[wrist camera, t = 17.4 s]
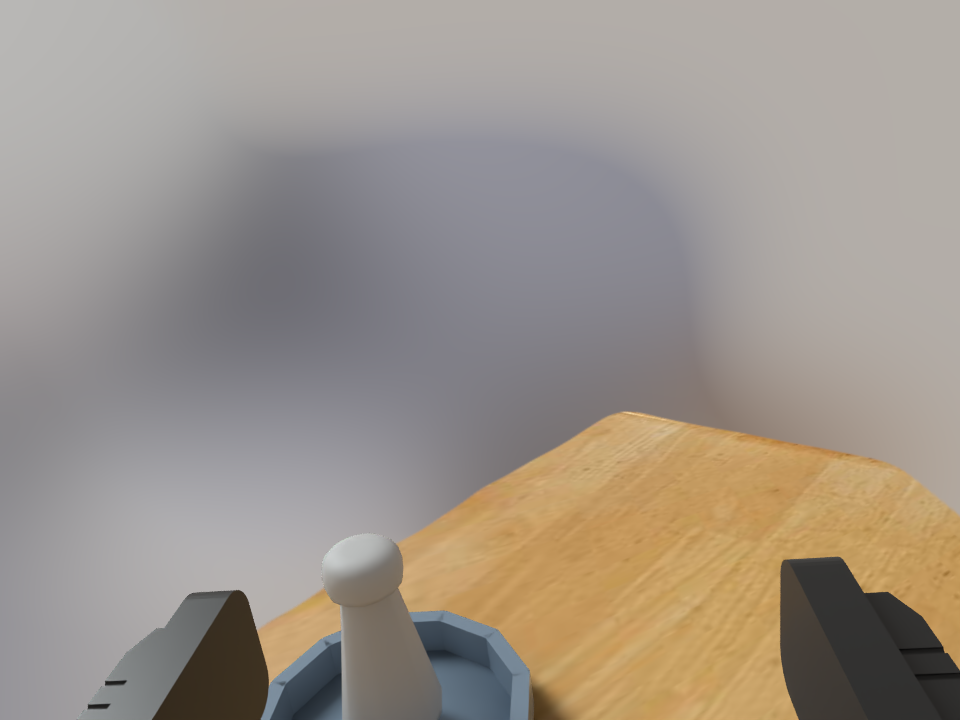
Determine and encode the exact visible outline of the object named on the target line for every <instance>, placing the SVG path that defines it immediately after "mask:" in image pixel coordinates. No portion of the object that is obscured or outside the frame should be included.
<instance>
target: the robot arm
mask: <svg viewBox="0 0 960 720" xmlns="http://www.w3.org/2000/svg"><path fill="white" fill-rule="evenodd" d="M780 648H781V660H782V667H783V673H784V677H785V682H786V686H787V689H788V692H789V695H790V698H791V701H792V703H793V706H794V708H795V711H796V713H797V716H798V718H799V720H960V670H959V669H958V667H957V666H956V664H955V663H954V662H953V660H952V659H951V657H950V656H949V654H948V653H945V652H944V649H943V646H942V644H941V643H940V641H939V640H938V639H937V637H936V636H935V634H934V633H933V631H932V630H931V629H930V627H929V626H928V624H927V623H926V621H925V620H924V619H923V617H922V616H921V615H919V614H918V613H916V612H915V611H914V610H912V609H911V608H909V607H908V606H907V605H905V604H904V603H903V602H901V601H900V600H898V599H897V598H896V597H894V596H893V595H892V594H890V593H889V592H878V593H864V592H863V591H862V589H861V588H860V586H859V584H858V583H857V581H856V579H855V578H854V576H853V575H852V573H851V571H850V570H849V568H848V566H847V565H846V563H845V562H844V560H843V559H842V558H840V557H825V558H807V559H790V560H784V561H783V562H782V565H781V601H780ZM268 689H269V677H268V670H267V665H266V662H265V658H264V655H263V651H262V648H261V644H260V641H259V637H258V634H257V630H256V627H255V623H254V619H253V616H252V612H251V609H250V605H249V602H248V599H247V597H246V595H245V594H244V593H243V592H242V591H240V590H236V591H235V590H234V591H217V592H199V593H192V594H190V595H188V596H187V597H186V598H185V600H184V601H183V602H182V604H181V605H180V607H179V608H178V610H177V611H176V612H175V614H174V615H173V616H172V618H171V619H170V621H169V622H168V624H167V625H166V627H165V628H159V629H155V630H154V631H153V632H152V633H150V634H149V635H148V636H147V637H146V638H144V639H143V640H142V641H140V642H139V643H138V644H137V645H136V646H134V647H133V648H132V649H131V650H129V651H128V652H127V653H126V654H125V655H124V657H123V658H122V659H121V661H120V662H119V663H118V665H117V666H116V667H115V669H114V670H113V671H112V673H111V674H110V675H109V677H108V678H107V679H106V681H105V686H104V687H101V688H100V689H99V690H98V692H97V693H96V694H95V696H94V697H93V698H92V700H91V701H90V702H89V704H88V709H87V710H85V711H83V712H82V713H81V714H80V716H79V717H78V718H77V720H261V718H262V716H263V713H264V710H265V707H266V703H267V698H268Z"/></svg>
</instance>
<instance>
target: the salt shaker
mask: <svg viewBox="0 0 960 720" xmlns="http://www.w3.org/2000/svg"><path fill="white" fill-rule="evenodd" d="M402 577H403V560H402V555H401V553H400V550H399V548H398V546H397V545H396V544H395V543H394V542H393V541H392V540H391V539H389V538H386V537H384V536H381V535H378V534H359V535H356V536H352V537H348V538H346V539H344V540H343V541H341V542H339V543H337V544H335V546H333V547H332V549H331V550H330V551H329V552H328V553H327V554H326V555H325V557H324V559H323V563H322V581H323V585H324V588H325V590H326V592H327V593H328V595H329V597H330V598H331V600H332V601H333V602H334V603H337V604H339V605H340V614H341V661H342V720H439V718H440V715H441V713H442V687H441V685H440V683H439V680H438V678H437V676H436V673H435V671H434V669H433V667H432V664H431V662H430V660H429V657H428V655H427V653H426V651H425V648H424V646H423V644H422V641H421V639H420V637H419V635H418V632H417V630H416V628H415V625H414V623H413V621H412V619H411V616H410V614H409V612H408V609H407V607H406V605H405V603H404V600H403V598H402V596H401V593H400V591H399V589H398V587H399V585H400V584H401V582H402Z"/></svg>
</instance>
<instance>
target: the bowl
mask: <svg viewBox="0 0 960 720" xmlns="http://www.w3.org/2000/svg"><path fill="white" fill-rule="evenodd" d="M409 614H410V616H411V619H412V621H413V623H414V625H415V628H416V630H417V632H418V635H419V637H420V639H421V641H422V644H423V646H424V648H425V651H426V653H427V655H428V657H429V660H430V662H431V664H432V667H433V669H434V671H435V673H436V676H437V678H438V680H439V683H440V685H441V687H442V713H441V715H440V718H439V720H534V699H533V692H532V684H531V677H530V671H529V669H528V668H527V666H526V665H525V664H524V663H523V661H522V660H521V659H520V657H519V656H518V655H517V654H516V652H515V651H514V650H513V648H512V647H511V646H510V645H509V643H508V642H507V641H506V639H505V638H504V637H503V636H502V634H501V633H500V632H499V631H498V630H497V629H495V628H492V627H489V626H487V625H484V624H481V623H478V622H475V621H473V620H470V619H467V618H464V617H462V616H459V615H456V614H453V613H450V612H448V611H428V612H409ZM261 720H342V661H341V631H339V632H336V633H334V634H331V635H329V636H326V637H324V638H323V639H320V640H319V641H318V642H317V643H316V644H315V645H313V646H312V647H311V648H310V649H309V650H308V651H306V652H305V653H304V654H303V655H302V656H301V657H299V658H298V659H297V660H296V661H295V662H294V663H292V664H291V665H290V666H289V667H288V668H287V669H285V670H284V671H283V672H282V673H281V674H280V675H278V676H277V677H276V678H275V679H274V680H273V681H272V682H271V684H270V686H269V689H268V698H267V703H266V707H265V710H264V713H263V716H262V718H261Z"/></svg>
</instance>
